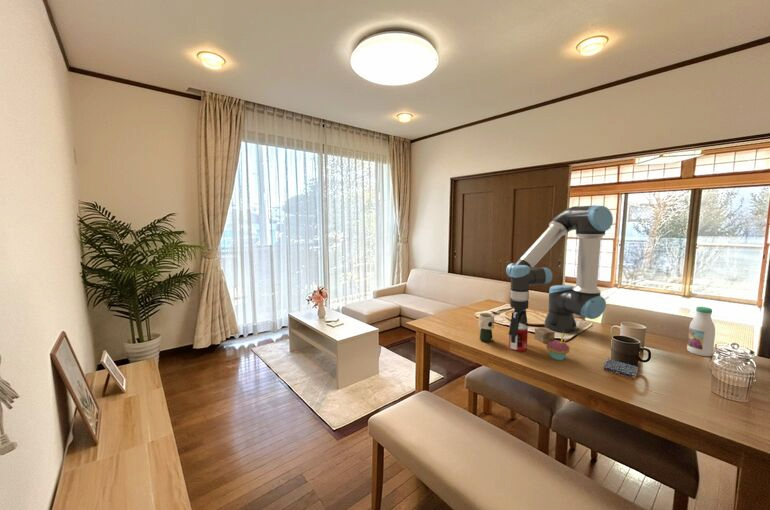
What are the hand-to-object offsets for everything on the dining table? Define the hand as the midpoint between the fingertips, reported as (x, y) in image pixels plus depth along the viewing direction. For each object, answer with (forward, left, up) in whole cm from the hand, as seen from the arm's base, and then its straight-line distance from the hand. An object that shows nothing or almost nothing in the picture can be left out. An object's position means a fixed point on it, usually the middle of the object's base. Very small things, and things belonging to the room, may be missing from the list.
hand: (518, 343), depth 139 cm
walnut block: (-15, -11, -2) cm, 19 cm away
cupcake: (-14, +8, -2) cm, 16 cm away
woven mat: (-34, +16, -3) cm, 38 cm away
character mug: (+13, -8, -2) cm, 15 cm away
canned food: (0, 0, -2) cm, 2 cm away
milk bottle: (-75, -3, -2) cm, 75 cm away
